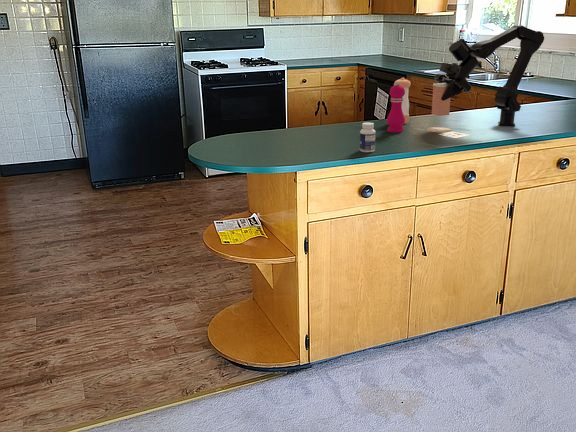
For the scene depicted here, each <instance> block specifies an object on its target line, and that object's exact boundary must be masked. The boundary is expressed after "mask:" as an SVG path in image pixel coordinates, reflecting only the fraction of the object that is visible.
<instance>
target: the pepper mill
mask: <svg viewBox="0 0 576 432" xmlns="http://www.w3.org/2000/svg"><path fill="white" fill-rule="evenodd" d="M404 94H405V89H404V87H402V86H400V82H399V81H397V82H396V85H395V86H394V85H393V86H391V88H390V89H389V96H390V102H391V109H390V111H389V113H388V115H387V118H386V124H387V125H389V126H387V132H390V133H402V132H404V127H403V126H404V125H405V124H404V123H405V117H404V114H403V111H402V102H403V98H402V97H403V96H404Z"/></svg>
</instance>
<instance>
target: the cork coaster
mask: <svg viewBox="0 0 576 432" xmlns="http://www.w3.org/2000/svg"><path fill="white" fill-rule="evenodd" d="M426 131H428V132H431V133H438V134H442V133H447V132H452V131H453V130H452V129H451V128H447V127H442V126H440V127H438V126H436V127H428V128H426Z"/></svg>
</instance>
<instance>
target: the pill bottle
mask: <svg viewBox="0 0 576 432" xmlns="http://www.w3.org/2000/svg"><path fill="white" fill-rule="evenodd" d="M374 126H375V123H374V122H367V121H366V122H362V124H361V127H362V129H361V130H360V131H359V151H360V152H362V153H373V152H375V151H376V130H375V129H374Z"/></svg>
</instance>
